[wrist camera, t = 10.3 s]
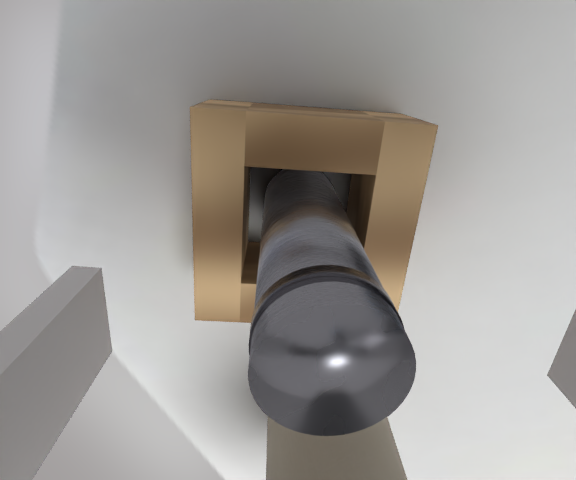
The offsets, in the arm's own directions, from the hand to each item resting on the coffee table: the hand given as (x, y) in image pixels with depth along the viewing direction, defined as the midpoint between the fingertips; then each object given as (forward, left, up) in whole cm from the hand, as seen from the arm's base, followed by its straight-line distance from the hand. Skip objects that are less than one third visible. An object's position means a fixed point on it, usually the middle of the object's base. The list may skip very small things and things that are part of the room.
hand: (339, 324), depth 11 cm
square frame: (0, 0, -12) cm, 12 cm away
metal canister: (0, 0, -12) cm, 12 cm away
